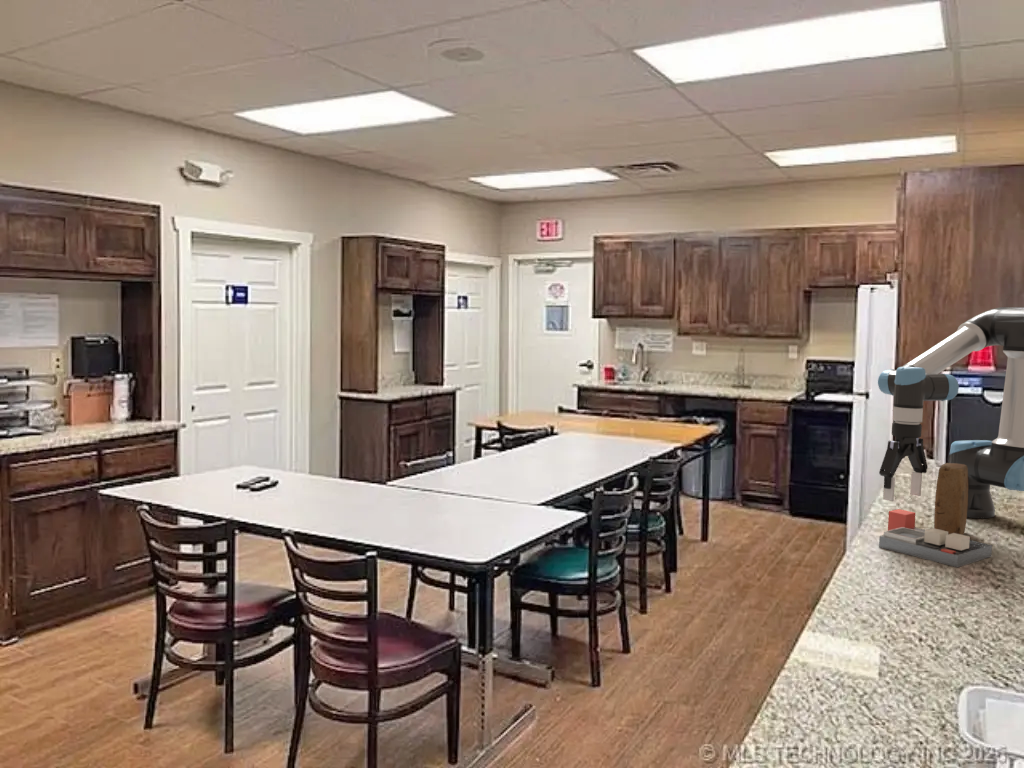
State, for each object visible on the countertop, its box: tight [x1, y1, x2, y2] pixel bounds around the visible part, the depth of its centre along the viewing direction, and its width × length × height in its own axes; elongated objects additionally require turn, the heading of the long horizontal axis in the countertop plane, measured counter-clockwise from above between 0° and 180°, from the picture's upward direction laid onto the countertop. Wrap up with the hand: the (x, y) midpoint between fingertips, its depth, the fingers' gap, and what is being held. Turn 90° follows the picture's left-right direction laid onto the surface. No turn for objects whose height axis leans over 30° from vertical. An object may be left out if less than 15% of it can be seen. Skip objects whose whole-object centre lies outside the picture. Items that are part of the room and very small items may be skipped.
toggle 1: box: [924, 527, 948, 545], centre depth 220 cm, size 4×4×3 cm
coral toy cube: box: [887, 508, 916, 531], centre depth 239 cm, size 5×5×7 cm
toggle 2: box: [945, 533, 971, 550], centre depth 216 cm, size 4×4×3 cm
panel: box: [878, 526, 993, 568], centre depth 224 cm, size 17×21×4 cm
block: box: [933, 462, 968, 535], centre depth 242 cm, size 11×8×20 cm
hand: (902, 497), depth 238 cm, fingers open, 13 cm apart
